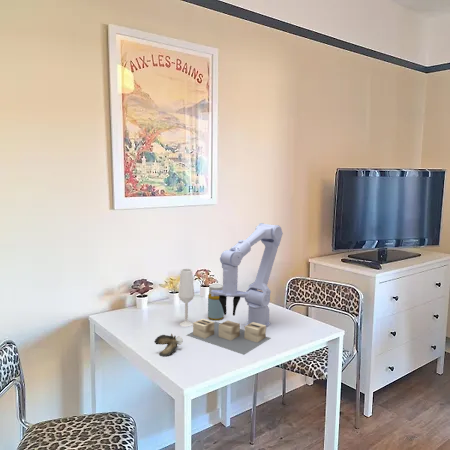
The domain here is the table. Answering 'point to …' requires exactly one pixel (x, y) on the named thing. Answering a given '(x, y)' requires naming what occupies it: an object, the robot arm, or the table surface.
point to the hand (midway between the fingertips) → (229, 314)
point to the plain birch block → (229, 330)
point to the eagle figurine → (168, 343)
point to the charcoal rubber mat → (231, 341)
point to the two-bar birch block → (203, 328)
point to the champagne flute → (186, 292)
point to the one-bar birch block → (255, 332)
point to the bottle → (215, 304)
